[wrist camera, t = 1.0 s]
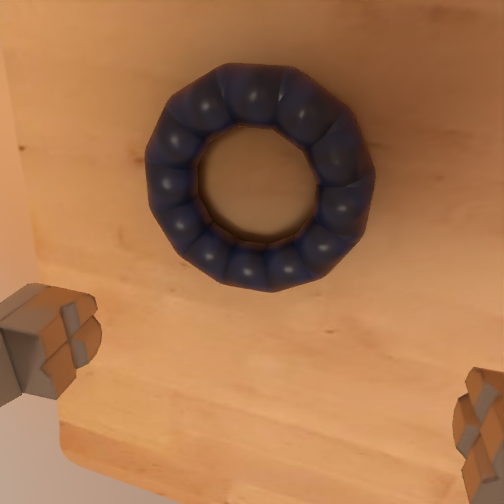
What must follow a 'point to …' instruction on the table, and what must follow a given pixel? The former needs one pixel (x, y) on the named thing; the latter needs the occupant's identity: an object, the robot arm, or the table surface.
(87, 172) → the table surface
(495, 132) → the table surface
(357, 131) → the ring
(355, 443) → the table surface
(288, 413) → the table surface
